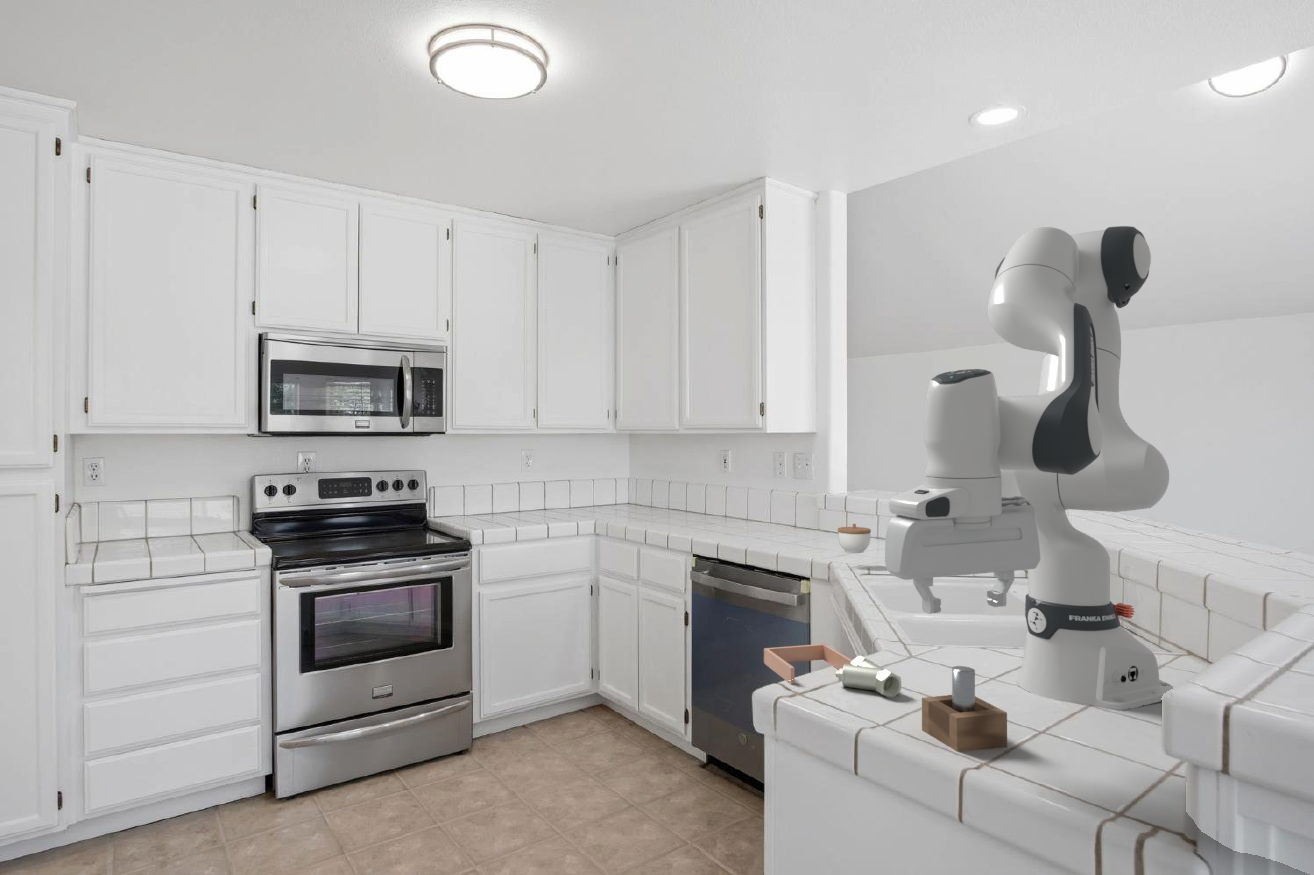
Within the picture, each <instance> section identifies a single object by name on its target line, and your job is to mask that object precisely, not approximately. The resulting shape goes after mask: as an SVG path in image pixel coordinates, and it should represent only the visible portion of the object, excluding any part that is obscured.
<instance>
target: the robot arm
mask: <svg viewBox="0 0 1314 875" xmlns="http://www.w3.org/2000/svg"><path fill="white" fill-rule="evenodd" d="M1151 257H1152V256H1151V250H1150V246H1149V244H1148V242H1147V240H1146V238H1145V236H1144V233H1142V232H1141V231H1140V230H1139V229H1137V227H1134V226H1127V225H1126V226H1125V225H1124V226H1123V225H1122V226H1121V225H1119V226H1109V227H1106V228H1105V229H1102V230H1100V229H1099V230H1094V231H1087V232H1086V231H1085V232H1081V233H1076V234H1072V235H1070V233H1067V232H1066V231H1064V230H1062V229H1060V228H1056V227H1050V226H1043V227H1036V228H1033V229H1031V230H1028V231H1027V232H1024V233H1023V234H1022V235H1020V237H1018V238H1017V239H1016V240H1015V242H1014V243H1013V245H1012V246H1011V247H1010V249H1009V250H1008V252H1007V253H1006V256H1004V257H1003V259H1002V260H1001V261H1000V262H999V265H998V266H997V267H996V270H995V274H994V282H993V285H992V288H991V291H990V294H989V296H988V297H989V298H988V301H987V302H988V303H987V318H988V320H989V324H990V326H991V327H992V329H993V330H994V332H995V333H996V334H997V335H998V336H999V337H1001V338H1002V339H1003V340H1004V341H1006V342H1007V343H1009V344H1011V345H1012V346H1015V347H1017V348H1020V349H1023V350H1028V351H1036V352H1041V353H1043V354H1042V360H1041V367H1040V377H1039V384H1038V392H1037V395H1016V396H1015V395H1014V396H1011V395H1010V396H1001V395H1000V396H998V389H997V384H996V380H995V378H996V377H995V376H994V373H993V372H991V371H989V370H987V369H980V368H972V369H971V368H970V369H959V370H955V371H953V370H952V371H948V372H947V371H946V372H943V373H939V374H937V375H935V376H934V377H933V378H931V379H930V381H929V383H928V387H927V392H926V398H925V406H924V407H925V408H924V421H923V422H924V427H923V430H924V431H923V434H924V435H923V436H924V438H923V439H924V440H923V441H924V446H925V447H926V451H927V452H926V453H927V464H926V468H925V471H924V483H922V484H920V485H917V486H915V487H914V488H911V489H909V490H907V491H905V492H902V493H900V494H896V495H894V496H891V498H890V499H889V501H888V508H889V510H888V511H889V512H890V513H891V514H893V515H894V516H893V517H892V518H891V519H890V520H889V521H888V524H887V527H886V532H885V543H884V544H885V546H884V563H885V568H886V569H887V571H888V572H889V574H890V575H891V576H892V577H896V578H898V579H901V580H904V581H906V580H907V581H908V580H912V581H913V582H912V584H913V585H914V588H915V589H916V590H917V592H918V594H919V596H920V597H921V606H922V607H921V608H922V611H923V613H927V614H928V615H929V614H933V615H934V614H938V613H941V611H942V607H941V605H942V599H941V598H938V597H935V596H934V594H933V592H932V591H931V589H930V587H933V586H934V578H941V577H943V578H945V577H955V576H968V575H979V574H980V575H981V574H991V573H993V577H995V578H996V579H995V582H994V585H993V587H992V590H987V592H986V595H987V596H986V597H987V599H986V602H987V605H989V606H991V607H993V608H1001V607H1006V606H1007V593H1008V592H1009V590H1010V589H1011V587H1012V584H1013V582H1014V581H1015V571H1027V580H1028V581H1027V582H1028V584H1027V586H1028V592H1027V594H1025V601H1024V607H1025V608H1024V616H1025V620H1026V621H1025V622H1026V625H1027V626H1026V628H1027V630H1026V635H1025V641H1024V642H1025V643H1024V649H1023V657H1022V663H1021V665H1020V671H1019V673H1018V674H1019V675H1018V677H1017V679H1016V680H1017V681H1016V682H1017V685H1018V686H1019V687H1020V688H1021V689H1023V690H1024V691H1027V692H1028V693H1031V694H1034V696H1035V695H1036V696H1038V697H1042V698H1045V699H1050V700H1054V701H1059V702H1063V703H1064V702H1065V703H1070V704H1078V705H1084V706H1085V705H1087V706H1093V707H1098V708H1103V709H1107V710H1114V711H1124V710H1125V709H1126V710H1128V709H1127V708H1131V709H1134V708H1133V707H1136V708H1139V707H1144V706H1147V705H1152V704H1157V703H1160V702H1162V701H1161V698H1162V696H1163V694H1164V693H1166V692H1167V691H1169V690H1171V689H1173V687H1174V685H1171V684H1169V683H1168V682H1166V681H1163V680H1162V679H1160V672H1159V664H1158V661H1157V657H1156V655H1155V654H1154V652H1153V651H1152V650H1151V649H1150V648H1149V647H1147V646H1146V645H1145V644H1143V643H1142V642H1141V641H1139V640H1138V639H1137V638H1135V637H1134V636H1133V635H1132V634H1130V633H1129V632H1128V631H1127V630H1125V628H1123V627H1122V626H1121V621H1120V618H1119V617H1122V618H1126V619H1132V618H1133V617H1134V615H1135V612H1136V611H1135V608H1133V606H1132V605H1129V604H1124V603H1122V602H1118V603H1116V604H1114V603H1113V602H1112V601H1111V561H1110V560H1111V558H1110V556H1109V553H1108V552H1109V551H1108V550H1107V549H1106V547H1104V545H1103V544H1102V543H1101V542H1099V540H1097V539H1095V538H1094V537H1091V536H1090V535H1089V534H1087V533H1084V532H1082V531H1080V530H1079V529H1076V527H1074V526H1073V524H1071V522H1070V520H1069V518H1068V517H1067V516H1068V515H1067V511H1068V510H1072V511H1073V510H1076V511H1077V510H1078V511H1090V512H1091V511H1093V512H1108V513H1109V512H1110V513H1113V512H1114V513H1119V512H1128V511H1129V512H1130V511H1137V510H1146V509H1151V508H1152V507H1154V506H1156V504H1158V503H1159V501H1160V500H1162V498H1163V497H1164V495H1165V494H1166V492H1167V489H1168V486H1169V483H1170V470H1169V466H1168V463H1167V461H1166V459H1165V457H1164V455H1163V454H1162V453H1161V451H1160V450H1159V449H1158V448H1156V446H1154V445H1152V444H1151V443H1150V442H1148V441H1146V440H1145V439H1143V438H1142V437H1141V436H1139V435H1138V434H1137V433H1136V432H1134V430H1132V428H1131V427H1130V426H1129V425H1128V423H1127V421H1126V419H1125V418H1124V416H1123V413H1122V410H1121V406H1120V393H1119V391H1120V390H1119V389H1120V371H1121V369H1120V368H1121V358H1122V357H1121V356H1122V335H1121V326H1120V320H1119V315H1118V312H1117V310H1116V309H1115V306H1116V308H1118V309H1122V308H1124V307H1126V306H1127V305H1128V304H1129V303H1130V301H1131V299H1132V297H1133V296H1134V295H1136V294H1137V293H1138V292H1139V291H1140V290H1141V288H1143V286H1144V284H1145V282H1146V280H1147V279H1148V277H1149V274H1150V267H1151V264H1152V263H1151V259H1152V258H1151ZM1066 510H1067V511H1066ZM1156 701H1157V702H1156ZM1143 705H1144V706H1143Z"/></svg>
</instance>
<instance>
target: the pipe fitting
mask: <svg viewBox="0 0 1314 875" xmlns="http://www.w3.org/2000/svg"><path fill="white" fill-rule="evenodd" d="M852 660H853V661H852V662H851V664H850V665H848V664H844V666H843V669H838V670H837V671H835V678H838V681H840V682H841V683H842V686H843V687H845V688H851V689H852V688H854V689H859V690H860V689H861V690H866V691H874V692H878V693H879V694H880V695H883V696H885V697H887V698H894V697H896V696H897V695H898V694H899V693H900V692H901V690H902V678H901V676H899V675H898V674H895V673H894V672H892V671H890V670H887V669H886V668H883V667H881V666H880V665H878V664H876V663H874V662H873V661H871V660H870V659H868V658H867V657H864V656H861V655H858V656H856V657H855V658H854V659H852Z"/></svg>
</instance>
